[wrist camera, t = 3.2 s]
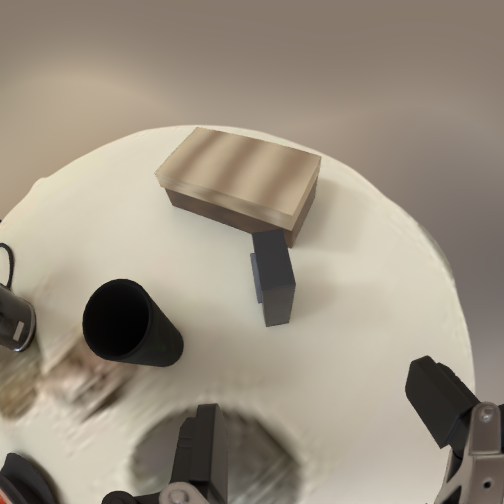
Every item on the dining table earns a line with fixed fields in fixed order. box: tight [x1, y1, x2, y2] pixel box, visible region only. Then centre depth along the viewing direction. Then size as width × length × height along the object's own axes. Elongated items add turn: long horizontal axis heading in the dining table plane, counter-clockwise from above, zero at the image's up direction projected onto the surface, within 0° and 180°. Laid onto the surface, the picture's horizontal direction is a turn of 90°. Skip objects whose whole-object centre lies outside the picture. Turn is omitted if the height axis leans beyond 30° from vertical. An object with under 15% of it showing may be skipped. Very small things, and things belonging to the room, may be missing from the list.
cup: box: [82, 279, 183, 367], centre depth 27 cm, size 8×8×12 cm
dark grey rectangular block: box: [250, 228, 296, 327], centre depth 29 cm, size 3×6×12 cm, turn 8°
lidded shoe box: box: [155, 127, 321, 248], centre depth 39 cm, size 20×11×8 cm, turn 64°
